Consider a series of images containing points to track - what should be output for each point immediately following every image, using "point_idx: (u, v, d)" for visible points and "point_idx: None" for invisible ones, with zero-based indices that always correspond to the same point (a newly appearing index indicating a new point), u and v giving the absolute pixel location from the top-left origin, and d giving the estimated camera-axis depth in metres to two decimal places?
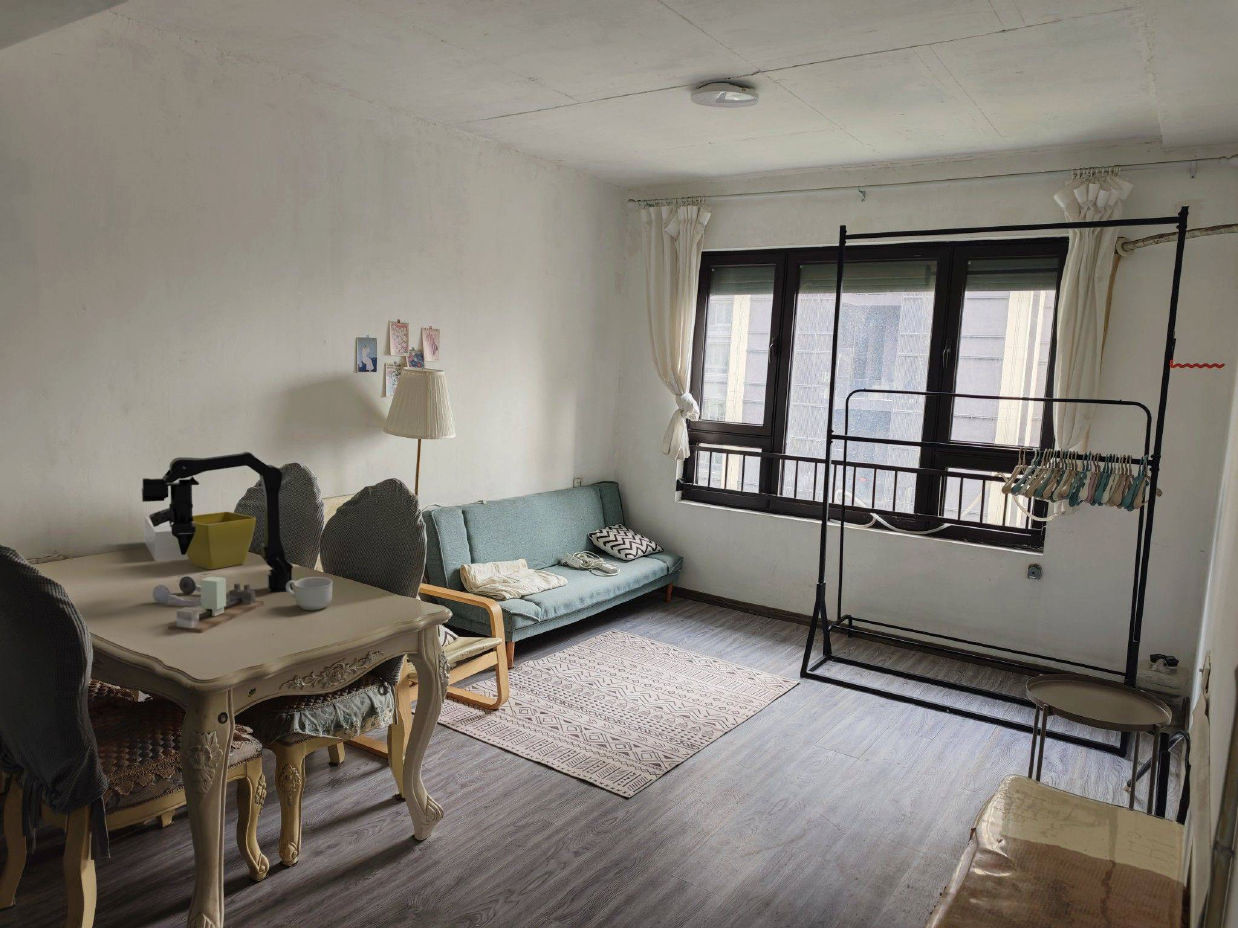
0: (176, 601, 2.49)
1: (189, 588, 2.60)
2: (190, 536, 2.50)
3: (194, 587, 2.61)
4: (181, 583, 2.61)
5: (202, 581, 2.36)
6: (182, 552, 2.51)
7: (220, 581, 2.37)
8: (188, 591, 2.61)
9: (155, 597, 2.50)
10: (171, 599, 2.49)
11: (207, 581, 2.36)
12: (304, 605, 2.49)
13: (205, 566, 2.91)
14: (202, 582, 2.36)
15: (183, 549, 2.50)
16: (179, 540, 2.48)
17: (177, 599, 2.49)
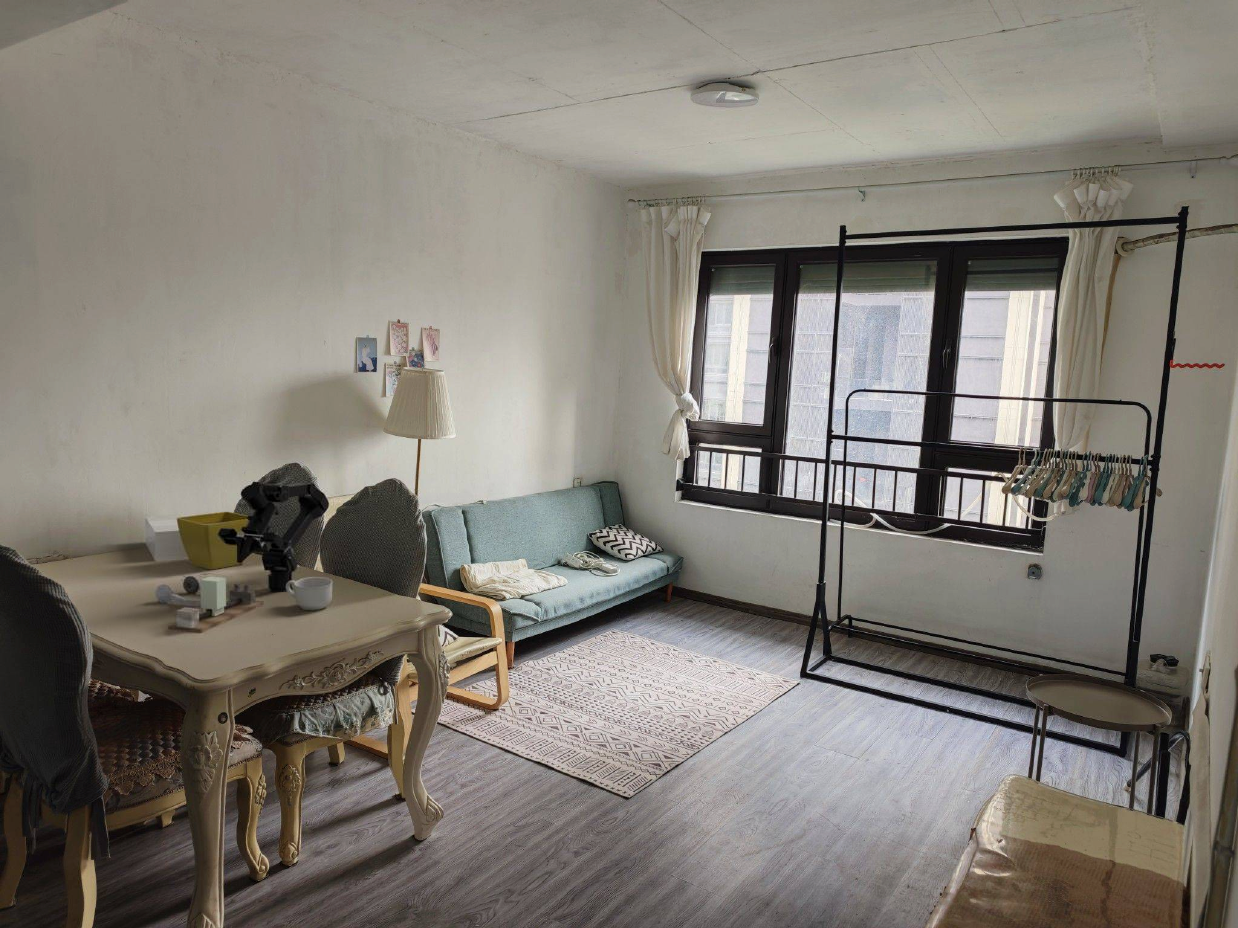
0: (178, 601, 2.49)
1: (192, 588, 2.61)
2: None
3: (197, 587, 2.61)
4: (185, 583, 2.61)
5: (202, 581, 2.36)
6: None
7: (220, 581, 2.37)
8: (192, 591, 2.61)
9: (158, 597, 2.50)
10: (173, 599, 2.50)
11: (207, 581, 2.36)
12: (304, 605, 2.49)
13: (205, 566, 2.91)
14: (202, 582, 2.36)
15: None
16: None
17: (179, 599, 2.49)
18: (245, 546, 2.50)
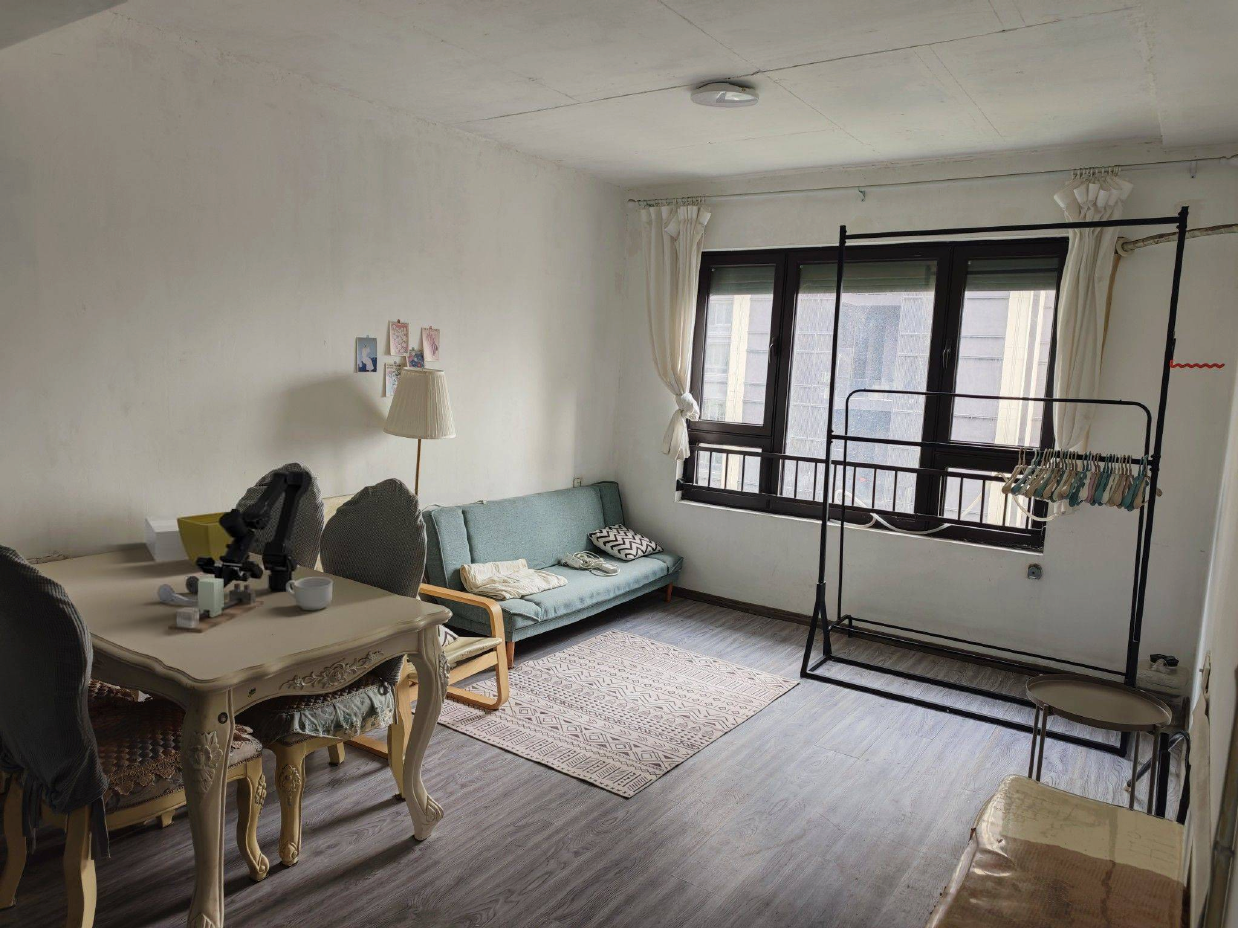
0: (179, 601, 2.49)
1: (195, 588, 2.61)
2: None
3: None
4: (187, 583, 2.62)
5: (199, 582, 2.35)
6: None
7: (218, 582, 2.36)
8: (194, 591, 2.61)
9: (159, 596, 2.51)
10: (175, 598, 2.50)
11: (204, 582, 2.35)
12: (304, 605, 2.49)
13: None
14: (199, 583, 2.35)
15: None
16: None
17: (180, 599, 2.49)
18: (223, 576, 2.40)
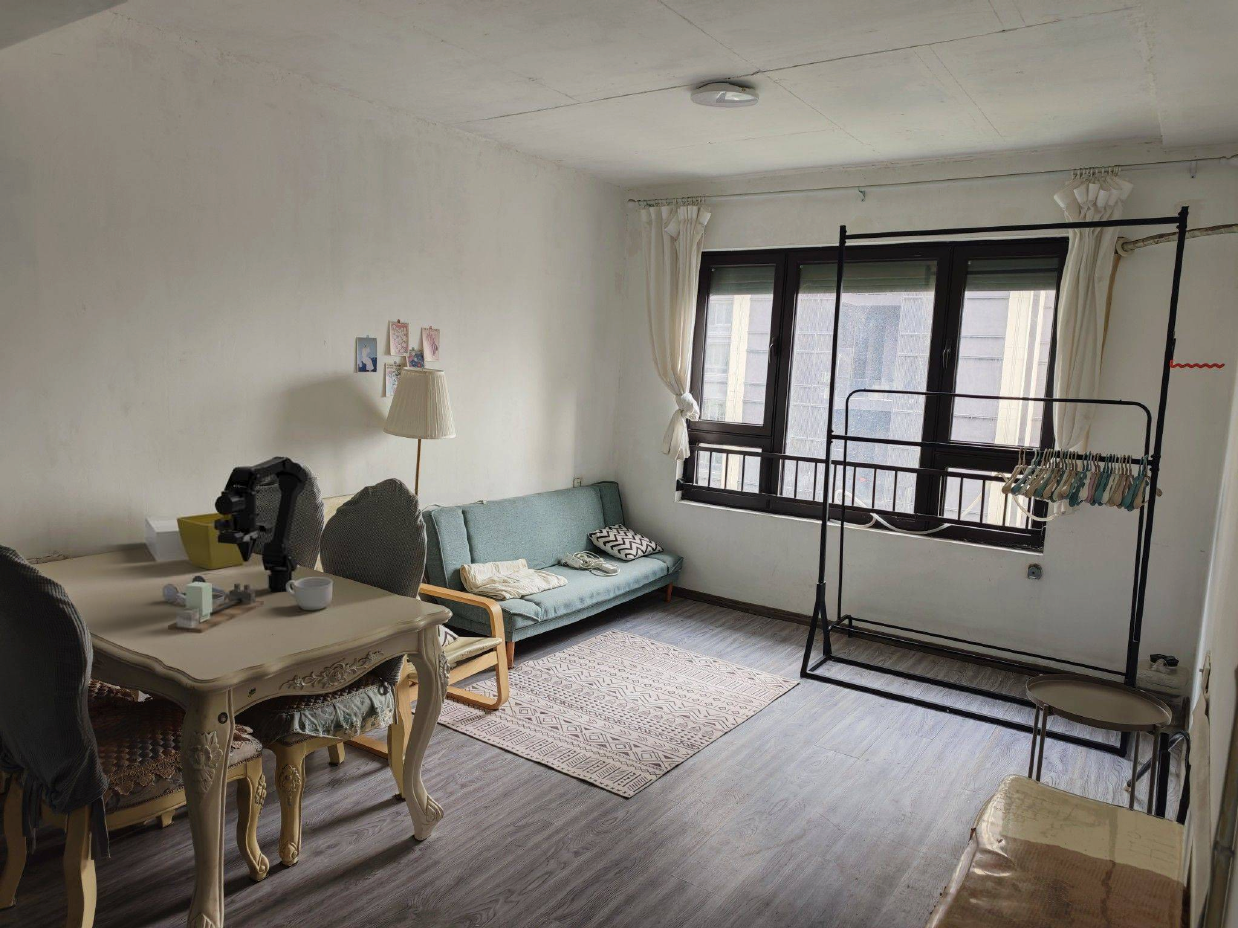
0: (182, 600, 2.50)
1: None
2: (247, 544, 2.49)
3: None
4: None
5: (187, 586, 2.30)
6: (244, 559, 2.52)
7: (206, 586, 2.31)
8: None
9: (164, 595, 2.52)
10: (178, 598, 2.51)
11: (192, 586, 2.30)
12: (304, 605, 2.49)
13: (205, 566, 2.91)
14: (187, 587, 2.30)
15: (244, 556, 2.51)
16: (239, 547, 2.50)
17: (183, 598, 2.50)
18: (254, 547, 2.53)
